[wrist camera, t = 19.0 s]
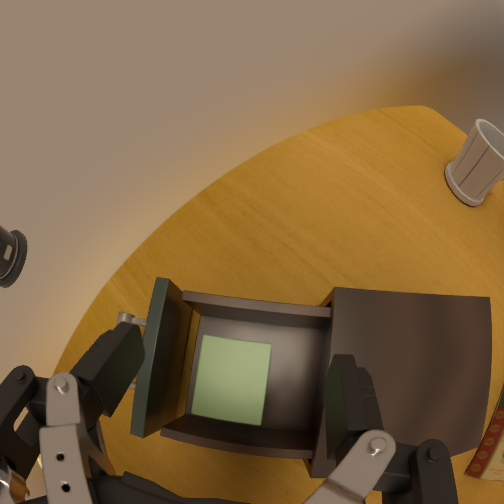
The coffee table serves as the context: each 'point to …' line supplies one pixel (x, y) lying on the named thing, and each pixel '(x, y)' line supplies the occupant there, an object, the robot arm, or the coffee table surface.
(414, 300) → the cabinet
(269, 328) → the drawer
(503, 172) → the cup
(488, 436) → the carton
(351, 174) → the coffee table surface
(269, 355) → the block
